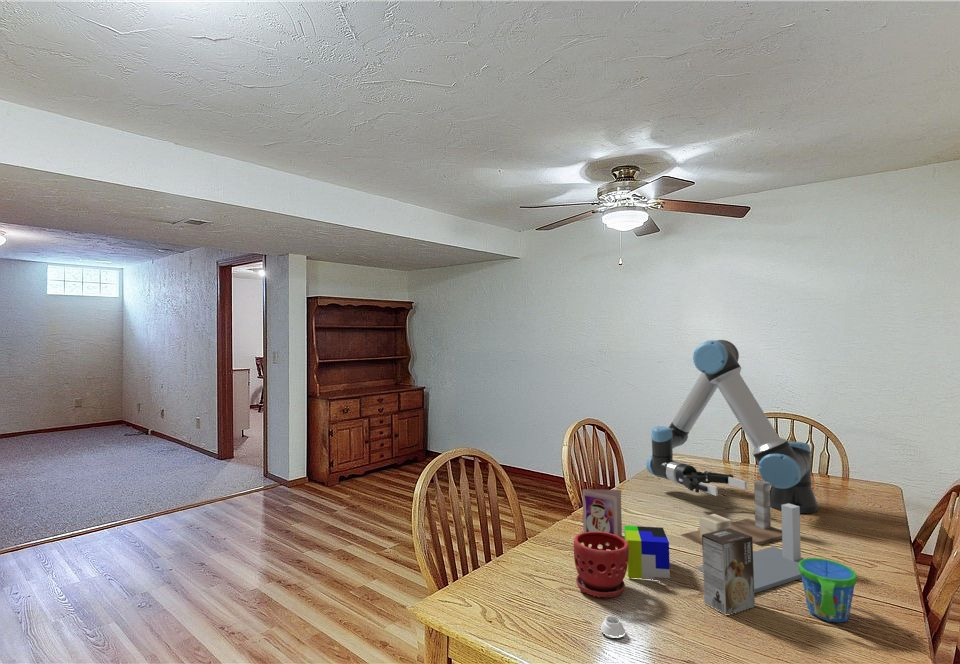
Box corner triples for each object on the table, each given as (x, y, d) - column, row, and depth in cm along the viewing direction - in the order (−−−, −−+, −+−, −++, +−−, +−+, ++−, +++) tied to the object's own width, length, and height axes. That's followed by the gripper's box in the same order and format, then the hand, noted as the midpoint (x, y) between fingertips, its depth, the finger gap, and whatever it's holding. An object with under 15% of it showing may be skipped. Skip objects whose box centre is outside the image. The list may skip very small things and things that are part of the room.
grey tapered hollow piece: (602, 625, 108) (599, 638, 104) (602, 611, 108) (598, 623, 104) (626, 629, 107) (624, 643, 102) (626, 615, 107) (624, 628, 102)
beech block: (714, 533, 153) (714, 513, 153) (731, 540, 148) (731, 520, 148) (700, 537, 151) (699, 517, 151) (716, 544, 145) (716, 523, 145)
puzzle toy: (669, 582, 126) (669, 542, 126) (628, 579, 128) (627, 540, 128) (663, 564, 136) (662, 527, 136) (625, 562, 138) (624, 525, 138)
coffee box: (731, 594, 120) (729, 526, 120) (755, 607, 114) (753, 536, 114) (702, 603, 116) (701, 533, 116) (726, 617, 110) (724, 543, 110)
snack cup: (855, 640, 101) (853, 589, 101) (793, 622, 108) (792, 574, 108) (860, 607, 113) (859, 562, 113) (805, 592, 120) (803, 549, 120)
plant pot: (620, 608, 115) (619, 555, 115) (566, 593, 122) (565, 543, 122) (635, 583, 126) (634, 535, 126) (585, 571, 133) (584, 526, 133)
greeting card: (582, 539, 153) (581, 490, 154) (594, 532, 159) (593, 484, 159) (616, 549, 146) (615, 497, 146) (628, 541, 151) (627, 491, 151)
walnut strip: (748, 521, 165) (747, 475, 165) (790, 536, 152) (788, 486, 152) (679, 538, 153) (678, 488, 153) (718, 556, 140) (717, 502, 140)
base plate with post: (773, 549, 143) (772, 497, 143) (824, 570, 130) (823, 512, 131) (695, 571, 131) (694, 514, 131) (743, 597, 118) (742, 532, 118)
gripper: (706, 479, 192) (757, 494, 173) (656, 488, 182) (704, 505, 163) (706, 459, 192) (756, 472, 173) (655, 467, 182) (703, 482, 163)
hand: (731, 488), depth 168 cm, fingers open, 13 cm apart
